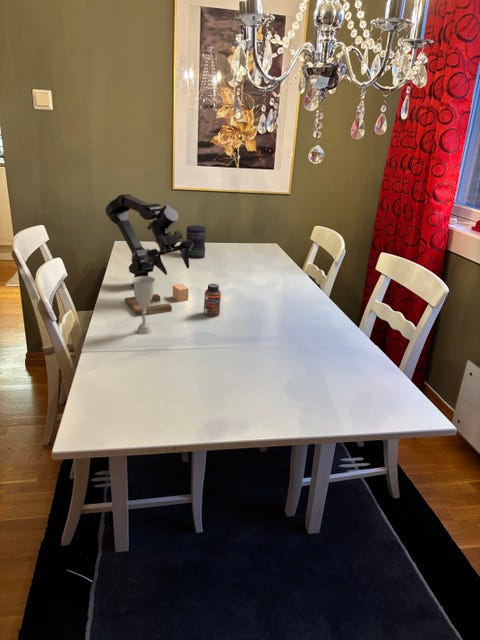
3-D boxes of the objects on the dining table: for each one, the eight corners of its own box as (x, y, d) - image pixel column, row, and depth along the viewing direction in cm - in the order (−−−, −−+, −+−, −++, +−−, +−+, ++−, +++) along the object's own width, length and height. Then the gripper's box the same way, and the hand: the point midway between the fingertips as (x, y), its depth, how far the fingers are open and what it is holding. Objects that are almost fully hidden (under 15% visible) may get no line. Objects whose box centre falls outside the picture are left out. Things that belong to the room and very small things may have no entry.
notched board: (124, 303, 185) (124, 298, 184) (157, 298, 191) (157, 293, 190) (137, 316, 174) (137, 310, 173) (171, 311, 180) (171, 306, 179)
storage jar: (183, 254, 254) (183, 225, 248) (200, 253, 258) (201, 225, 252) (189, 259, 245) (190, 230, 240) (207, 258, 249) (209, 229, 244)
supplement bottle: (205, 317, 177) (206, 287, 172) (202, 311, 182) (203, 282, 178) (221, 316, 178) (223, 287, 174) (217, 310, 184) (219, 282, 179)
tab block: (172, 297, 194) (172, 285, 192) (181, 295, 196) (182, 284, 194) (178, 302, 190) (179, 289, 188) (188, 300, 192) (188, 288, 190)
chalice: (146, 325, 167) (145, 274, 160) (159, 331, 163) (159, 279, 156) (128, 331, 162) (127, 279, 155) (142, 337, 158) (141, 284, 151)
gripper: (143, 230, 174) (160, 270, 172) (189, 219, 182) (206, 256, 181) (137, 243, 184) (153, 281, 182) (181, 232, 192) (196, 267, 190)
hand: (177, 271), depth 183 cm, fingers open, 9 cm apart
